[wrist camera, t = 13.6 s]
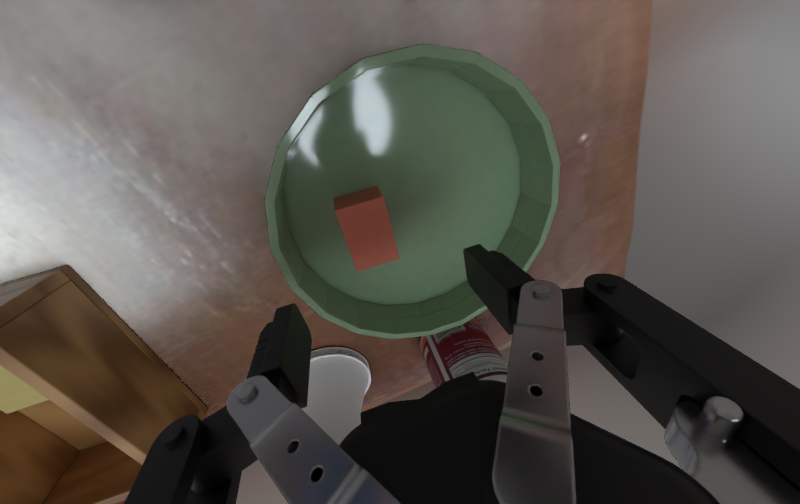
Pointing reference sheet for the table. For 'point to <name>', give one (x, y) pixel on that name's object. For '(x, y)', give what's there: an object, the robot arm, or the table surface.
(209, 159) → the table surface
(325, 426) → the vase
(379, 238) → the red block
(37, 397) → the yellow block
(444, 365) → the pill bottle
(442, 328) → the bowl
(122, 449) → the holder
